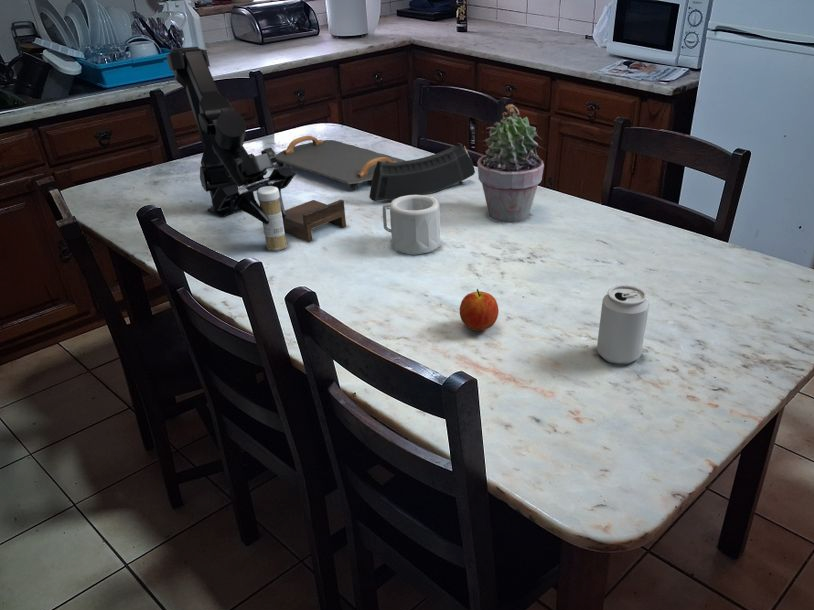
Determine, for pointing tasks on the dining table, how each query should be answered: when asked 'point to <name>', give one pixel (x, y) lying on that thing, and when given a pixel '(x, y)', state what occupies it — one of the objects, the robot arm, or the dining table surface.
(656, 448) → the dining table surface
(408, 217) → the mug
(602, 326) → the can
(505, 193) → the potted plant
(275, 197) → the sprinkles bottle
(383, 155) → the serving tray
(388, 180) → the magazine
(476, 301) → the fruit
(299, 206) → the shelf
